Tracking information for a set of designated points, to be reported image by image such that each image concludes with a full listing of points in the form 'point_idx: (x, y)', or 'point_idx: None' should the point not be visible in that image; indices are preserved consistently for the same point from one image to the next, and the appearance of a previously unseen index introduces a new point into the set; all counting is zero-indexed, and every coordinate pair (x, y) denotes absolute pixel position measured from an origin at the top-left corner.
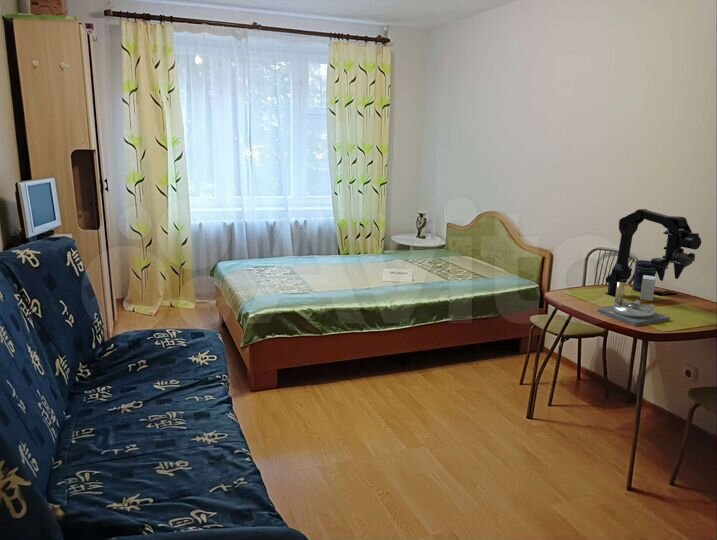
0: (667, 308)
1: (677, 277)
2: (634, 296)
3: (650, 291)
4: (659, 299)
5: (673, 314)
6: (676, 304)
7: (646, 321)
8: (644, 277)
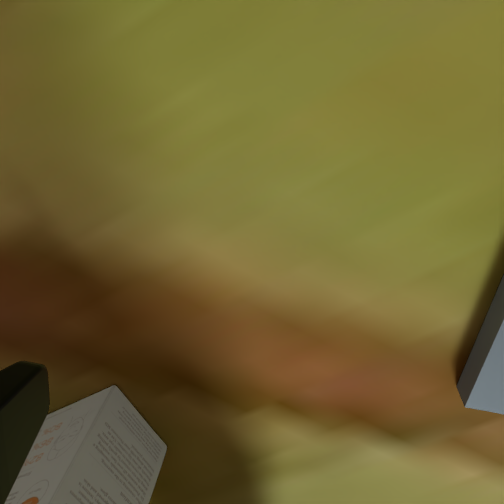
0: (198, 210)
1: (19, 395)
2: None
3: (100, 463)
4: None
5: (345, 60)
6: (7, 235)
7: None
8: None
